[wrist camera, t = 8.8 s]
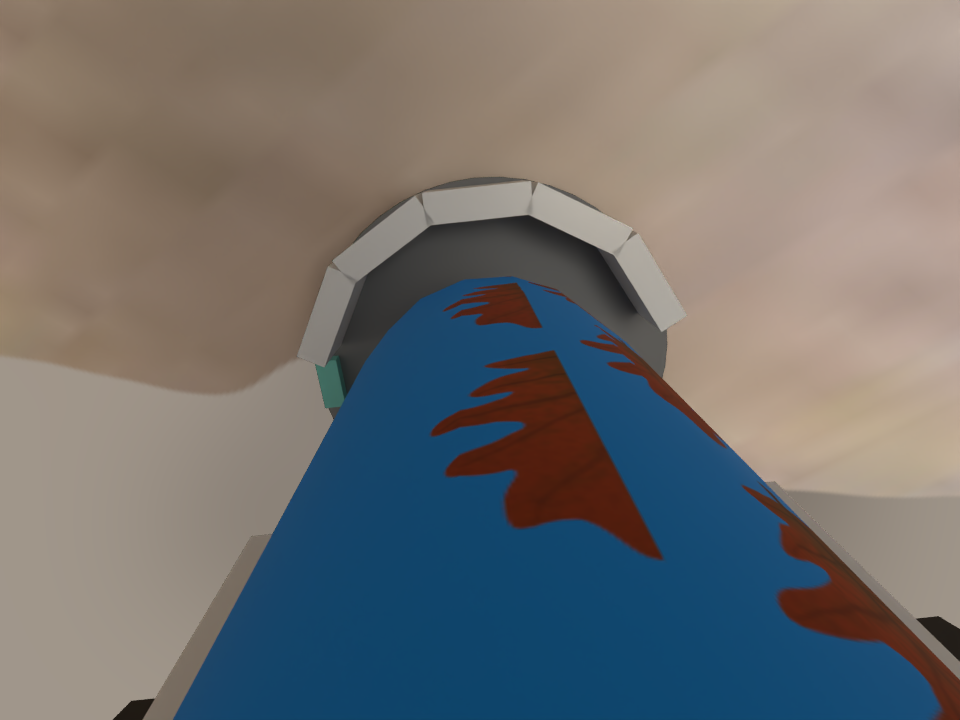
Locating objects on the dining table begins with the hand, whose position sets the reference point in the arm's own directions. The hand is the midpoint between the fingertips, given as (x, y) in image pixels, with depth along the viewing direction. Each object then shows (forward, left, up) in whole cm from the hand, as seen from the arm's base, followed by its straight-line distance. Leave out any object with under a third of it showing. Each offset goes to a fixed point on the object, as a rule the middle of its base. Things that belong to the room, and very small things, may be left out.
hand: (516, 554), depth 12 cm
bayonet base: (0, 0, -14) cm, 14 cm away
